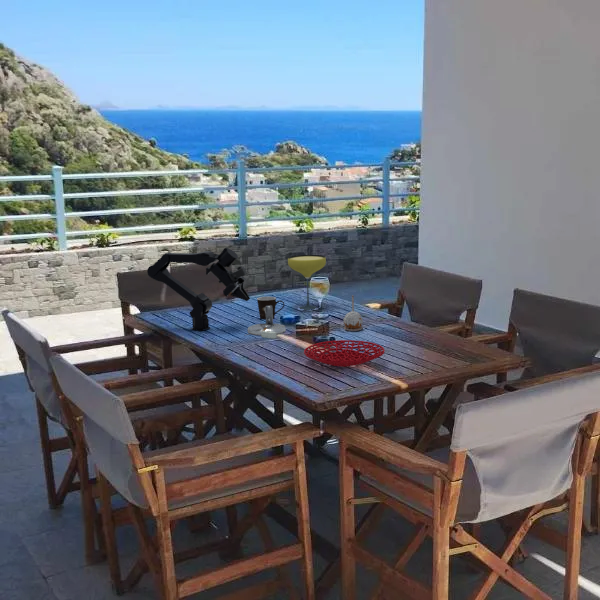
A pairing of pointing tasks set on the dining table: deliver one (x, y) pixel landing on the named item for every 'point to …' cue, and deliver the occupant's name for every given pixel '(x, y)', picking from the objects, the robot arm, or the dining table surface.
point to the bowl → (344, 353)
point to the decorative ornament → (353, 319)
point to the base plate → (267, 334)
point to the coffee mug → (267, 302)
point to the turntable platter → (267, 325)
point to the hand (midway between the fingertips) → (248, 299)
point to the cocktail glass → (307, 269)
